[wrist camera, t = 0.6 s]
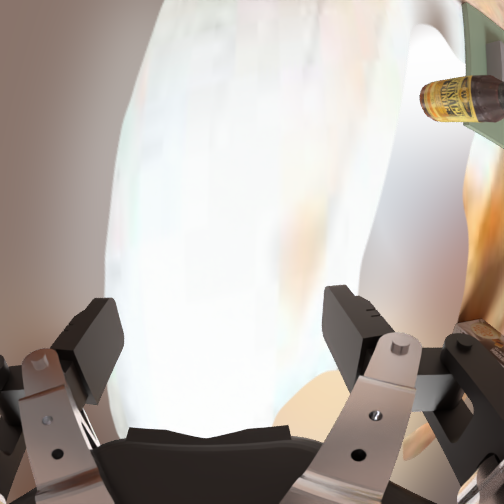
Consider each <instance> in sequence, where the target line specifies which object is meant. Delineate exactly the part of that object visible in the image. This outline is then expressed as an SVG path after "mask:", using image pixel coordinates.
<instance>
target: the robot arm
mask: <svg viewBox="0 0 504 504" xmlns="http://www.w3.org/2000/svg"><path fill="white" fill-rule="evenodd" d="M322 332H323V337H324V339H325V341H326V343H327V345H328V348H329V350H330V352H331V354H332V356H333V358H334V360H335V362H336V364H337V367H338V369H339V371H340V373H341V375H342V377H343V379H344V382H345V384H346V386H347V388H348V390H349V392H350V396H349V398H348V400H347V401H346V404H345V406H344V407H343V409H342V411H341V413H340V415H339V417H338V418H337V420H336V422H335V424H334V426H333V428H332V429H331V431H330V433H329V434H328V436H327V438H326V439H325V441H324V443H321V442H319V441H316V440H312V439H308V438H303V437H297V436H291V435H290V430H289V426H288V425H285V426H276V427H265V428H253V429H246V430H242V431H238V432H234V433H230V434H225V435H221V436H217V437H212V438H199V437H194V436H189V435H185V434H181V433H176V432H172V431H168V430H158V429H143V428H131V427H129V430H128V434H127V437H126V438H124V439H119V440H114V441H111V442H108V443H105V444H102V445H100V443H99V441H98V439H97V437H96V435H95V433H94V430H93V428H92V427H91V424H90V422H89V420H88V417H87V415H86V413H85V411H84V409H83V406H84V405H85V404H93V405H98V403H99V401H100V398H101V396H102V393H103V391H104V389H105V387H106V384H107V382H108V380H109V377H110V375H111V373H112V371H113V369H114V366H115V364H116V362H117V360H118V358H119V355H120V353H121V351H122V349H123V346H124V333H123V329H122V326H121V322H120V318H119V314H118V310H117V306H116V303H115V300H114V299H113V298H94V299H93V300H92V301H91V303H90V304H89V305H88V306H87V308H86V309H85V310H84V311H82V312H80V313H79V314H77V315H76V316H74V318H73V319H72V320H71V321H70V323H69V325H67V326H66V328H65V329H64V331H63V332H62V333H61V334H60V335H59V337H58V338H57V339H56V340H55V342H54V343H53V344H52V346H51V347H50V348H42V349H38V350H35V351H33V352H31V353H30V354H28V355H27V356H26V357H25V358H24V360H23V361H22V365H19V366H10V367H8V365H7V363H6V361H5V359H4V357H3V356H2V355H0V415H1V418H0V504H6V500H7V497H8V494H9V491H10V489H11V486H12V483H13V480H14V477H15V475H16V472H17V470H18V467H19V464H20V462H21V459H22V457H23V454H24V452H25V450H26V448H27V452H28V457H29V461H30V465H31V469H32V472H33V476H34V480H35V483H36V486H37V487H36V488H34V489H32V490H31V491H29V492H28V493H26V494H24V495H23V496H21V497H19V498H18V499H16V500H14V501H13V502H11V503H9V504H436V503H434V502H432V501H430V500H427V499H426V498H423V497H421V496H419V495H417V494H415V493H413V492H411V491H409V490H407V489H405V488H403V487H401V486H399V485H397V484H395V483H393V482H391V481H390V480H389V479H390V477H391V474H392V471H393V468H394V466H395V463H396V460H397V457H398V454H399V451H400V448H401V445H402V442H403V439H404V435H405V432H406V428H407V425H408V421H409V418H410V414H411V412H418V411H422V412H423V414H424V416H425V417H426V419H427V421H428V423H429V425H430V427H431V428H432V430H433V432H434V434H435V436H436V438H437V439H438V442H439V443H440V445H441V447H442V449H443V451H444V453H445V455H446V457H447V459H448V461H449V463H450V465H451V467H452V469H453V471H454V473H455V475H456V477H457V479H458V481H459V483H460V486H461V488H460V490H459V492H458V497H457V503H458V504H504V367H503V366H502V365H501V364H500V363H499V362H498V361H497V360H496V358H495V357H494V356H493V355H492V354H491V353H490V352H489V351H488V350H487V349H486V348H485V347H484V346H483V345H482V344H481V343H480V342H479V341H478V340H477V339H476V338H474V337H472V336H470V335H468V334H463V333H454V334H450V335H449V336H447V337H446V339H445V341H444V344H443V347H442V348H422V345H421V343H420V342H419V341H418V340H417V339H416V338H415V337H413V336H411V335H409V334H405V333H399V332H395V331H394V330H393V329H392V328H391V326H390V325H389V324H388V323H387V322H386V321H385V319H384V318H383V317H382V316H380V313H379V312H378V311H377V310H376V309H375V307H374V306H373V305H372V304H371V303H370V301H368V300H366V299H364V298H362V297H360V296H354V294H353V293H352V292H351V291H350V289H349V288H348V287H347V286H346V285H336V286H326V287H325V290H324V302H323V315H322ZM464 392H465V393H466V395H467V396H468V398H469V399H470V400H471V402H472V404H473V407H474V414H472V413H471V412H470V410H469V409H468V407H467V406H466V404H465V403H464V401H463V400H462V397H463V394H464Z"/></svg>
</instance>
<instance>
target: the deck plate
mask: <svg viewBox="0 0 504 504" xmlns="http://www.w3.org/2000/svg"><path fill="white" fill-rule="evenodd" d="M462 10H463V20H464V32H465V51H466V76H471V75H492V76H494V77H495V78H497V79H499V80H501V81H503V82H504V30H502V29H501V28H500V27H499V26H498V25H496V24H495V23H494V22H493V21H491V20H490V19H489V18H488V17H486V16H485V15H484V14H482V13H481V12H480V11H478V10H477V9H475V8H474V7H473V6H471V5H470V4H468V3H467V2H466V3H464V4H462ZM463 125H464V126H466V127H467V128H469V129H471V130H473V131H475V132H477V133H478V134H480V135H482V136H483V137H485V138H487V139H489V140H490V141H492V142H494V143H495V144H497V145H498V146H500V147H502V148H503V149H504V118H503V119H502V120H501V121H498V122H496V123H494V122H482V123H480V122H464V123H463Z"/></svg>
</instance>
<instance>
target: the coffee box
mask: <svg viewBox="0 0 504 504" xmlns="http://www.w3.org/2000/svg"><path fill="white" fill-rule="evenodd" d="M454 333H463V334H468V335H470V336H472V337H474V338H476V339H477V340H478V341H479V342H480V343H481V344H482V345H483V346H484V347H485V348H486V349H487V350H488V351H489V352H490V353H491V354H492V355H493V356H494V357H495V358H496V360H497V361H498V362H499V363H500V364H501V365H502V366H503V367H504V336H503V335H502V334H501V333H500V332H498V331H497V330H496V329H495V328H493V327H492V326H491V325H490V324H488V323H487V322H486V321H484V320H483V319H477V320H472V321H467V322H462V323H457V324H456V325H455V327H454V331H453V333H452V334H454Z"/></svg>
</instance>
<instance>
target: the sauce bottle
mask: <svg viewBox="0 0 504 504" xmlns="http://www.w3.org/2000/svg"><path fill="white" fill-rule="evenodd" d="M420 103H421V106H422V109H423V110H424V113H425V114H426V115H427V116H428V117H430V118H432V119H433V120H435V121H440V122H480V123H482V122H494V123H496V122H498V121H501V120H502V119H503V118H504V82H503V81H501V80H499V79H497V78H495V77H494V76H492V75H471V76H465V77H458V78H452V79H447V80H440V81H436V82H431V83H430V84H427V85H425V86H424V87H423V88H422V90H421V93H420Z"/></svg>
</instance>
